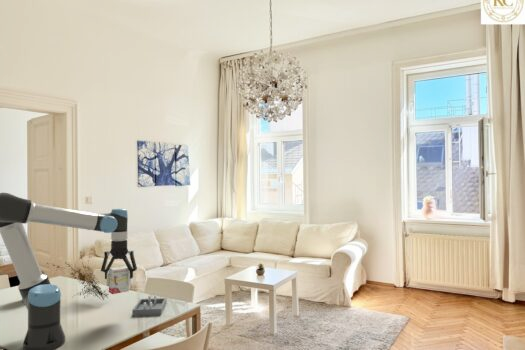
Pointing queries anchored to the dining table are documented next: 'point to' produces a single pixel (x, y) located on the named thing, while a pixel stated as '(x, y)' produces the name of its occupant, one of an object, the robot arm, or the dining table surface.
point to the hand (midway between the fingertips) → (118, 285)
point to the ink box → (118, 280)
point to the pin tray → (149, 306)
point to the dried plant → (98, 291)
